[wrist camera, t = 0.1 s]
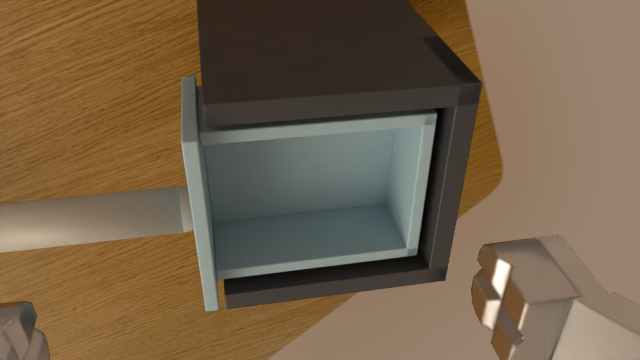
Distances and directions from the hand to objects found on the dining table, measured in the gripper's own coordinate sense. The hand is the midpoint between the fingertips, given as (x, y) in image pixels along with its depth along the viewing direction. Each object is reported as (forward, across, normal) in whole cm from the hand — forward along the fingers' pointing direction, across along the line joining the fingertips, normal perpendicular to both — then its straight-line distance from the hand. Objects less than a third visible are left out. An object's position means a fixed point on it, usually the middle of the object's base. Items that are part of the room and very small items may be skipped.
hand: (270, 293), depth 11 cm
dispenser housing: (+38, -4, +8) cm, 39 cm away
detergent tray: (+17, +2, +8) cm, 19 cm away
